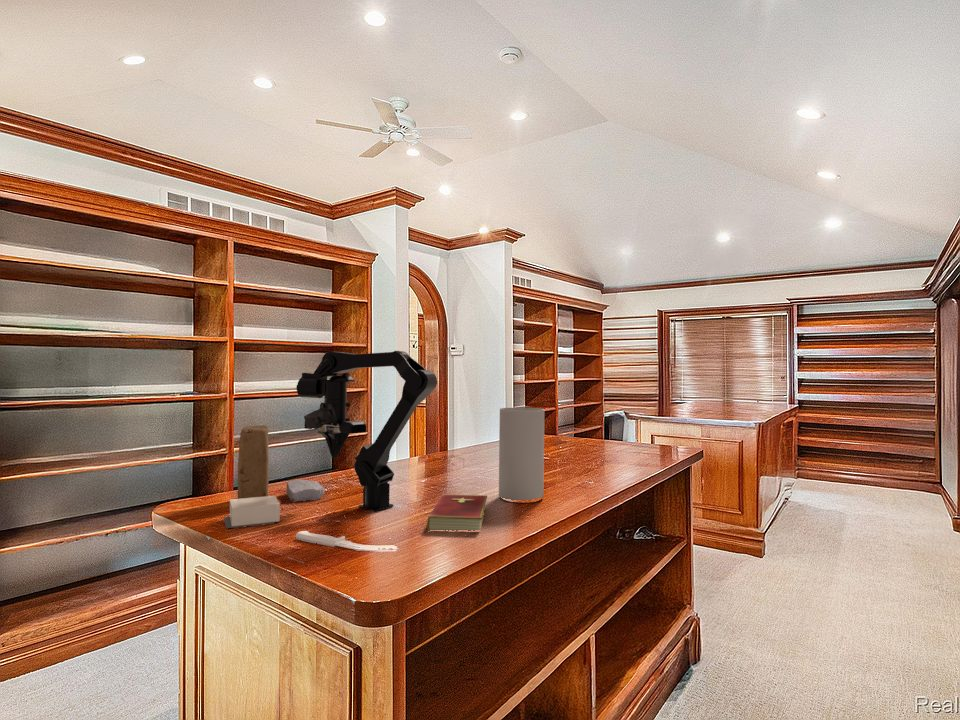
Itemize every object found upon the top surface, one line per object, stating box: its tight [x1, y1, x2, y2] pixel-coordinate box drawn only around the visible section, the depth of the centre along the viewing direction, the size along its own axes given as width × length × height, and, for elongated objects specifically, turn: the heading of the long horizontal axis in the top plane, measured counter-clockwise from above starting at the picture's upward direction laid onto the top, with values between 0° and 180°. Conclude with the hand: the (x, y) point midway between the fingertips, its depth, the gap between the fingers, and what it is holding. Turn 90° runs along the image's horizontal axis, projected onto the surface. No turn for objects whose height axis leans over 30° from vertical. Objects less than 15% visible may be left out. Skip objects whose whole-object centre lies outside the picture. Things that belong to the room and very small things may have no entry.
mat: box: [223, 515, 275, 530], centre depth 126 cm, size 10×10×1 cm
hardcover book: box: [426, 493, 488, 532], centre depth 130 cm, size 12×21×4 cm, turn 176°
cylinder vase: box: [498, 407, 545, 500], centre depth 153 cm, size 12×12×25 cm
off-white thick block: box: [229, 495, 281, 526], centre depth 127 cm, size 4×9×10 cm
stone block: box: [286, 479, 326, 502], centre depth 152 cm, size 12×5×10 cm
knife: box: [295, 530, 399, 553], centre depth 111 cm, size 30×2×8 cm
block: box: [237, 425, 270, 499], centre depth 145 cm, size 11×8×20 cm
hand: (334, 457), depth 144 cm, fingers closed
